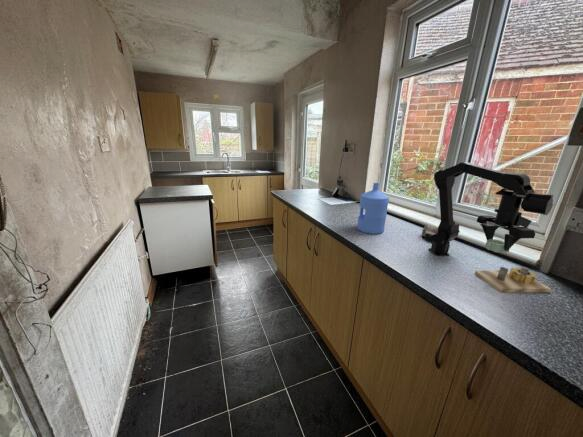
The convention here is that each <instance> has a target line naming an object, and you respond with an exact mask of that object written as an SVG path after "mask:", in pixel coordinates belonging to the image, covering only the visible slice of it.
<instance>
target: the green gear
mask: <svg viewBox="0 0 583 437" xmlns="http://www.w3.org/2000/svg"><path fill="white" fill-rule="evenodd" d="M484 248H486V250H488V251H492V252H494V253H501V254H507V253H509V252H510V249H509V250H508V251H505V250H504V240H501V239H494V238H493V239H489V240H487V239H486V242H485V246H484Z"/></svg>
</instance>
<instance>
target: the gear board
mask: <svg viewBox="0 0 583 437" xmlns="http://www.w3.org/2000/svg"><path fill="white" fill-rule="evenodd" d="M520 268H521V269H520V273H522V274H526V275H527V274H528V272H529V271H530V269H529V268H528V267H525V266H522V267H520ZM510 271H511V270H509V268H507V267H503V266H501V267H500V268H499V270H475V272H474V275H475V276H477V277H479V278H480V279H481V280H482V281H484V282H486V283H487V284H488V285H489V286H491V287H493V288H494V289H496V290H497V291H498V292H499V293H550V292H551V290H552V288H550V286H548V285H545V284H543V283H542V282H540V281H538V280H536V281H535V283H534V284H524V283H521V282H517V281H515V280H514V279H513V278H510V277H509V274H510Z"/></svg>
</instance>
